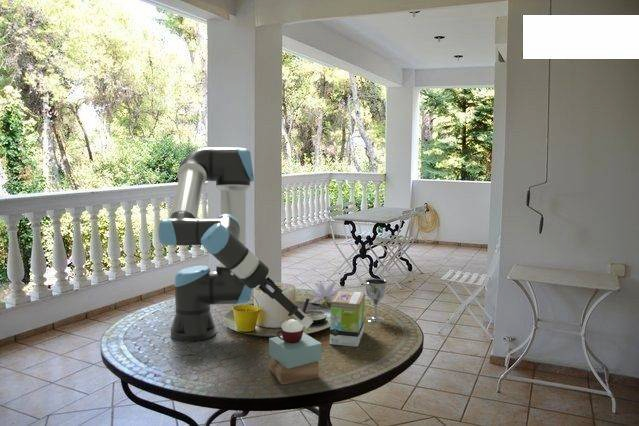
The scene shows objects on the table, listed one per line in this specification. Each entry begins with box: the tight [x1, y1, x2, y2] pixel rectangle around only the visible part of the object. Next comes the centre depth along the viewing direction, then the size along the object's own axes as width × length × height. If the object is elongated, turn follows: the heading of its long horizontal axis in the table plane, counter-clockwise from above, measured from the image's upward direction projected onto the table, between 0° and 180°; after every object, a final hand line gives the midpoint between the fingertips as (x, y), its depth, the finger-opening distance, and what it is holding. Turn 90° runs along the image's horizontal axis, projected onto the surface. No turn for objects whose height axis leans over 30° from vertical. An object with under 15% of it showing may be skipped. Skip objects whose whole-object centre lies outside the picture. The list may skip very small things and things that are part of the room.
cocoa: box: [276, 297, 310, 343], centre depth 144 cm, size 10×6×12 cm, turn 90°
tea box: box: [329, 290, 366, 348], centre depth 173 cm, size 15×10×15 cm
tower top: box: [268, 331, 323, 369], centre depth 145 cm, size 11×11×5 cm
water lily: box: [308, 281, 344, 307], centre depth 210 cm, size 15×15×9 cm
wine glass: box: [365, 278, 388, 324], centre depth 193 cm, size 8×8×15 cm
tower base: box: [268, 354, 320, 385], centre depth 146 cm, size 11×11×5 cm
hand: (301, 317), depth 145 cm, fingers open, 13 cm apart
